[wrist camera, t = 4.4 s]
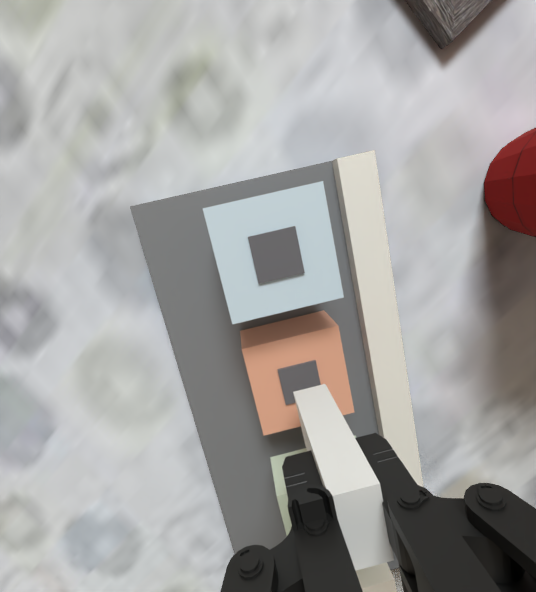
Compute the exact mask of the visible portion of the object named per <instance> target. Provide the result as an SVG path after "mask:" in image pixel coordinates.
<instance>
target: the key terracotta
mask: <svg viewBox="0 0 536 592" xmlns="http://www.w3.org/2000/svg"><path fill="white" fill-rule="evenodd" d="M240 336H241V347H242V353H243V356H244V360H245V364H246V368H247V372H248V376H249V380H250V384H251V388H252V392H253V396H254V400H255V403H256V407H257V411H258V415H259V419H260V423H261V427H262V431H263V435H264V436H265V435H269V434H273V433H276V432H280V431H284V430H288V429H292V428H296V427H300V426H301V424H300V420H299V415H298V411H297V407H296V402H295V398H294V393H293V392H295V391H299V390H303V389H307V388H311V387H315V386H319V385H323V384H326V386H327V388H328V390H329V391H330V393H331V395H332V397H333V399H334V401H335V402H336V404H337V406H338V408H339V410H340V411H341V413H342V415H346V414H350V413H354V406H353V401H352V396H351V390H350V385H349V380H348V374H347V369H346V364H345V358H344V353H343V347H342V342H341V337H340V331H339V326H338V325H337V324H336V322H335V321H334V320H333V319H332V318H331V317H330V316H329V315H328V314H327V313H326V312H325V311H324V310H323V311H319V312H315V313H311V314H307V315H303V316H299V317H294V318H290V319H286V320H282V321H278V322H274V323H270V324H266V325H262V326H258V327H253V328H249V329H245V330H241V331H240Z"/></svg>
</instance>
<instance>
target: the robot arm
mask: <svg viewBox="0 0 536 592" xmlns="http://www.w3.org/2000/svg"><path fill="white" fill-rule="evenodd" d="M293 393H294V398H295V402H296V407H297V411H298V415H299V420H300V424H301V428H302V433H303V437H304V442H305V446H306V449H307V452H303V453H299V454H295V455H291V456H287V457H285V460H284V463H283V466H282V470H283V475H284V480H285V486H286V491H287V496H288V512H289V516H290V520H291V524H292V527H291V530H290V532H289V534H288V536H287V537H286V538H285V539H284V540H283V541H282V542H281V543H279V544H278V545H277V546H275V547H273V548H272V549H270V550H269V549H268V548H266V547H264V546H262V545H250V546H246V547H244V548H243V549H241V550H239V551H238V552H237V553H236V554H235V555H234V556H233V557H232V558H231V560H230V562H229V564H228V566H227V569H226V573H225V577H224V581H223V585H222V588H221V592H363V591H362V588H361V585H360V582H359V579H358V576H357V574H356V570H360V569H364V568H367V567H371V566H375V565H379V564H382V563H386V562H390V561H393V560H394V558H393V552H392V549H393V551H394V553H395V556H396V558H397V560H398V563H399V569H400V574H401V580H402V585H403V591H404V592H536V509H535V508H534V507H532V506H531V505H529V504H528V503H526V502H525V501H524V500H522V499H521V498H519V497H518V496H516V495H515V494H513V493H512V492H510V491H509V490H507V489H505V488H503V487H501V486H499V485H495V484H490V483H479V484H475V485H472V486H470V487H469V488H468V489H467V490H466V492H465V495H464V499H460V498H440V497H436V496H433V495H432V494H431V493H430V492H429V491H428V490H427V489H426V488H423V487H421V486H419V485H417V483H416V482H415V480H414V479H413V478H412V476H411V475H410V473H409V472H408V470H407V469H406V467H405V466H404V464H403V463H402V461H401V460H400V459H399V457H398V456H397V454H396V453H395V451H394V450H393V449H392V447H391V445H390V444H389V442H388V441H387V440H386V439H385V438H383V437H382V436H380V435H379V434H377V433H373V434H369V435H365V436H361V437H357V438H355V437H354V435H353V433H352V432H351V430H350V428H349V426H348V424H347V422H346V421H345V419H344V417H343V415H342V413H341V411H340V410H339V408H338V406H337V404H336V402H335V401H334V399H333V397H332V395H331V393H330V391H329V390H328V388H327V386H326V384H323V385H319V386H315V387H311V388H307V389H303V390H299V391H295V392H293Z"/></svg>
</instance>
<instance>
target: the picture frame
mask: <svg viewBox="0 0 536 592" xmlns="http://www.w3.org/2000/svg"><path fill="white" fill-rule="evenodd" d="M405 1H406V2H407V4H408V5H409V7H410V8H411V9H412V11H413V12H414V13H415V15H416V16H417V17H418V19H419V20H420V21H421V23H422V24H423V25H424V27H425V28H426V29H427V31H428V32H429V33H430V35H431V36H432V38H433V39H434V40H435V42H436V43H437V44H438V46H439V47H440V48H441V49H443V48H444V47H445V46H447V45H448V44H449V43H451V42H452V41H453V40H454V39H455V38H456V37H457V36H458V35H459V34H460V33H461V32H462V31H463V30H464V29H465V28H466V27H467V26H468V24H469V23H470V22H471V21H472V20H473V19H474V18H475V17H476V16H477V15H478V14H479V13H480V12H481V11H482V10H483V9H484V8H485V7H486V6H487V5H488V4H489V3H490V2H491V1H492V0H405Z"/></svg>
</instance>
